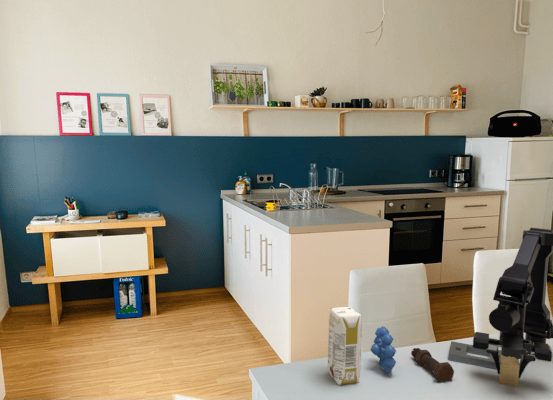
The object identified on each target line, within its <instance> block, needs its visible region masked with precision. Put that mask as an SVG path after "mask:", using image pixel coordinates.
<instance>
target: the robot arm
mask: <svg viewBox="0 0 553 400" xmlns="http://www.w3.org/2000/svg"><path fill="white" fill-rule="evenodd" d="M521 240H522V241H521V244H520V246H519V249H518V251H517V253H516V256H515V259H514V260H513V263H512V265H511V266H509V267H508V268H505V269H504V271H503V274H502V275H501V276H500V277H499V278H498V281H497V285H496V288H495V292H494V295H493V301H496V302H498V304H497V307H496V308H494V309H493V310H492V311H490V313H489V315H488V321H489V324H490V325H491V326H492V328H493V329H495V330H496V331H498V332H499V339H497V338H492V337H490V333H485V332H480V331H475V332H474V333H473V337H472V338H473V341H472V345H473V347H474V348H478V349H483V350H486V349H487V351H486V352H487V353H490V354H491V355H492V357H493V359H494V362H495V365H496V369H495V370H496V373H497V375H499V374H500V362H499V350H501V354H502V355H503V356H505V357H512V358H516V359H519V365H520V366H519V380H520V378H521V377H522V375H523V373H524V371H525V369H526V367H527V366H528V364H529V363H531V362H536V360H538V361H543V362H544V361H545V362H548V363H549V362H552V357H553V352H552V349H551V346H550V344H549V343H547V340H551V339H553V321H552V319H551V311H550V310H549V307H548V306H547V304H546V295H547V281H548V271H549V270H548V267H549V257H550V256H551V255H552V254H553V229H549V228H548V229H547V228H541V227H540V228H539V227H538V228H537V227H530V228H529V230H525V229H524V230H523V232H522V239H521ZM499 348H501V349H499Z"/></svg>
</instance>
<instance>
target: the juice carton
mask: <svg viewBox="0 0 553 400" xmlns="http://www.w3.org/2000/svg"><path fill="white" fill-rule="evenodd" d="M328 317H329V318H328V319H329V320H328V344H327V345H328V347H327V369H328V374H329V376H331V378H333V380H334V381H335V382H336V384H337V385H338V386H342V385H343V386H344V385H350V384H357V383H359V382H360V376H361V369H362V367H361V366H362V365H361V362H362V341H363V340H362V337H363V335H362V334H363V333H362V331H363V320H362V319H363V318H362V314H360V313H359V312H357V311H355V309H354V308H353V307H352V306H339V307H332V308H330V309H329V316H328Z"/></svg>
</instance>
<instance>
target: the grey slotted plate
mask: <svg viewBox="0 0 553 400" xmlns="http://www.w3.org/2000/svg"><path fill="white" fill-rule="evenodd" d="M498 350H499V362H500V355H502V354H501V349H498ZM486 351H487V349H486V350H483V349H478V348H474V347H473V344H469V343H462V342H458V341H452V340H451V341H450V346H449V351H448V355H447V358H448V361H453V362H456V363H462V364H466V365H467V364H468V365H472V366H478V367H483V368H486V369H492V370H497V369H496V365H495V362H494V359H493V357H492V355H491V354H490V353H487V352H486ZM467 353H469V354H467ZM470 354H472V355H470ZM475 355H479V356H475ZM482 356H483V357H482ZM502 356H503V355H502ZM487 357H489V358H487Z"/></svg>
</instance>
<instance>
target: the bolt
mask: <svg viewBox="0 0 553 400" xmlns="http://www.w3.org/2000/svg"><path fill="white" fill-rule="evenodd" d="M410 355H411V356H412V358H414V359H415V361H416V363H417V364H418V365H419V366H420V367H426V368H427V369H429V370H430V371H431V372H432V373H433V375H434V377H435V379H436V381H438V382H439V383H449V382H450V381H452V379H454V378H453V377H454V374H455V370H454V368H453V366H452V364H451V363H449V362H448V361H445V362H439V360H437V359H435V358H433V356H432V354H431V352H430V350H428V349H420V348H419V347H414V348H412V350H411V353H410Z"/></svg>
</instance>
